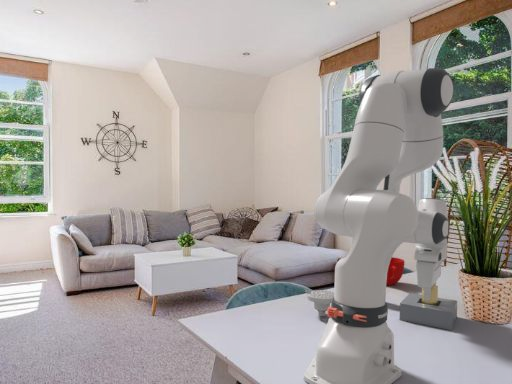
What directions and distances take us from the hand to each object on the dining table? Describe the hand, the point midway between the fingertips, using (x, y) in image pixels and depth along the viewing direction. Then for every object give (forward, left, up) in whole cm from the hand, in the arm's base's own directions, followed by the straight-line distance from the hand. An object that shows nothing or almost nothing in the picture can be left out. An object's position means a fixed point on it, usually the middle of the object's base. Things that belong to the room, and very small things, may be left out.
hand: (429, 296), depth 118 cm
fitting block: (0, 0, -7) cm, 7 cm away
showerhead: (-17, +28, -7) cm, 33 cm away
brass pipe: (0, 0, -7) cm, 7 cm away
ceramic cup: (+35, +21, -7) cm, 41 cm away
